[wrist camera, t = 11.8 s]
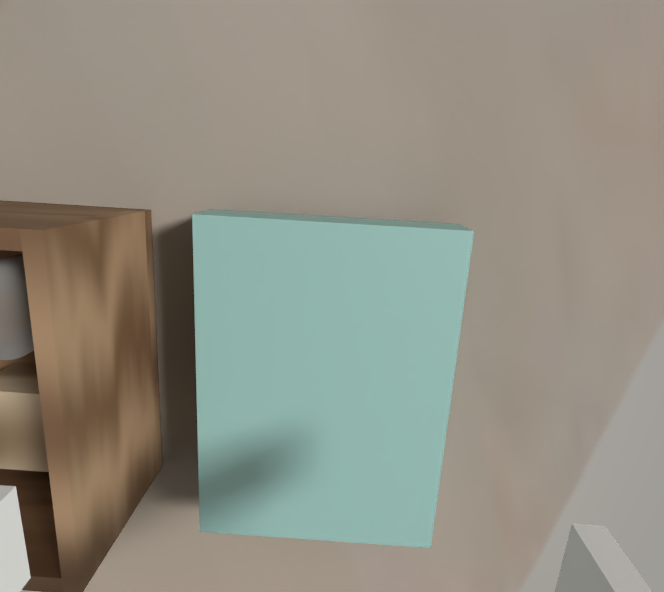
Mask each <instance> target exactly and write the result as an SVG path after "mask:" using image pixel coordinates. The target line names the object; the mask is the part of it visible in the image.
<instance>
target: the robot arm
mask: <svg viewBox="0 0 664 592" xmlns="http://www.w3.org/2000/svg"><path fill="white" fill-rule="evenodd" d="M30 578H31V576H30V570H29V563H28V557H27V551H26V545H25V539H24V533H23V527H22V521H21V515H20V509H19V502H18V496H17V490H16V486H4V485H0V592H20V591H21V590H22V589H23V587H24V586H25V585H26V583H27V582H28V581H29V579H30ZM555 592H652V591H651V590H650V588H649V587H648V586H647V584H646V583H645V582H644V580H643V579H642V577H641V576H640V574H639V573H638V572H637V570H636V569H635V567H634V566H633V565H632V563H631V562H630V560H629V559H628V558H627V556H626V555H625V553H624V552H623V551H622V549H621V548H620V546H619V545H618V544H617V542H616V541H615V539H614V538H613V537H612V535H611V534H610V532H609V531H608V530H607V529H606V527H605V526H599V525H598V526H597V525H584V524H572V526H571V530H570V533H569V537H568V541H567V546H566V550H565V553H564V557H563V561H562V566H561V569H560V573H559V577H558V581H557V585H556V589H555Z"/></svg>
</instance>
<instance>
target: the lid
mask: <svg viewBox="0 0 664 592" xmlns="http://www.w3.org/2000/svg"><path fill="white" fill-rule="evenodd" d="M192 227H193V269H194V310H195V351H196V393H197V434H198V476H199V517H200V532H212V533H226V534H240V535H255V536H269V537H283V538H297V539H312V540H326V541H340V542H354V543H369V544H383V545H397V546H411V547H426V548H431V541H432V533H433V526H434V519H435V512H436V504H437V497H438V490H439V482H440V475H441V468H442V461H443V453H444V446H445V439H446V432H447V424H448V417H449V410H450V402H451V395H452V388H453V381H454V373H455V366H456V359H457V351H458V344H459V337H460V330H461V322H462V315H463V308H464V301H465V293H466V286H467V279H468V271H469V264H470V257H471V250H472V242H473V235H474V231H473V230H471V229H468V228H466V227H464V226H462V225H460V224H450V223H433V222H416V221H399V220H382V219H366V218H349V217H332V216H315V215H298V214H282V213H265V212H248V211H231V210H214V209H210V210H206V211H202V212H199V213H195V214H192Z"/></svg>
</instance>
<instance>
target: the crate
mask: <svg viewBox="0 0 664 592" xmlns="http://www.w3.org/2000/svg"><path fill="white" fill-rule="evenodd" d="M161 467H162V447H161V424H160V402H159V379H158V357H157V334H156V312H155V289H154V267H153V244H152V222H151V210H144V209H127V208H111V207H95V206H79V205H63V204H47V203H31V202H15V201H0V485H4V486H16V490H17V496H18V502H19V509H20V515H21V521H22V527H23V533H24V539H25V545H26V551H27V557H28V563H29V570H30V576H31V578H30V579H29V581H28V582H27V583H26V585H25V586H24V587H23V589H22V590H29V591H42V592H83V591H84V589H85V588H86V586H87V585H88V583H89V581H90V580H91V578H92V577H93V575H94V573H95V572H96V570H97V569H98V567H99V566H100V564H101V562H102V561H103V559H104V558H105V556H106V554H107V553H108V551H109V550H110V548H111V547H112V545H113V543H114V542H115V540H116V539H117V537H118V535H119V534H120V532H121V531H122V529H123V528H124V526H125V524H126V523H127V521H128V520H129V518H130V516H131V515H132V513H133V512H134V510H135V508H136V507H137V505H138V504H139V502H140V501H141V499H142V497H143V496H144V494H145V493H146V491H147V489H148V488H149V486H150V485H151V483H152V482H153V480H154V478H155V477H156V475H157V474H158V472H159V470H160V469H161Z"/></svg>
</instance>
